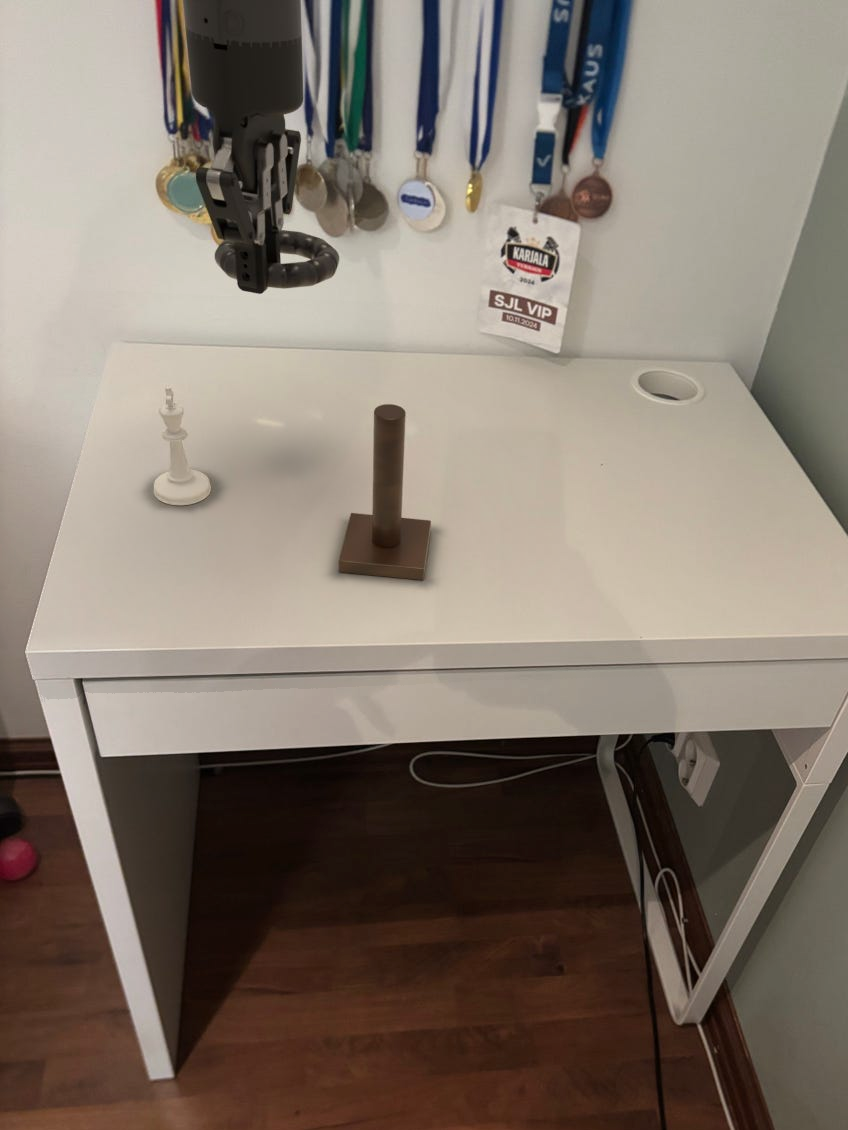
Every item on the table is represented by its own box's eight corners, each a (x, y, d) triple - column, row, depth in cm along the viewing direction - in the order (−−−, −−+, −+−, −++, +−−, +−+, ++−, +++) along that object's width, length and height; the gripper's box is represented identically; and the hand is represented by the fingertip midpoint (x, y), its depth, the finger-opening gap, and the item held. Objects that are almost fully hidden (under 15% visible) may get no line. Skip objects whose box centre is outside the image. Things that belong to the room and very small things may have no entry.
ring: (205, 284, 73) (202, 260, 72) (230, 243, 81) (229, 221, 80) (330, 296, 74) (330, 273, 73) (344, 255, 81) (344, 233, 80)
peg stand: (338, 572, 78) (336, 429, 70) (350, 523, 84) (350, 385, 75) (423, 580, 79) (432, 439, 70) (430, 531, 84) (439, 394, 75)
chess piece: (150, 505, 83) (132, 401, 76) (157, 474, 87) (141, 372, 80) (208, 505, 84) (196, 402, 77) (213, 475, 87) (201, 374, 81)
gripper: (234, 2, 68) (250, 247, 80) (139, 32, 58) (173, 309, 70) (333, 17, 68) (335, 263, 79) (255, 50, 57) (270, 327, 69)
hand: (259, 283), depth 74 cm, fingers closed on ring, 2 cm apart
